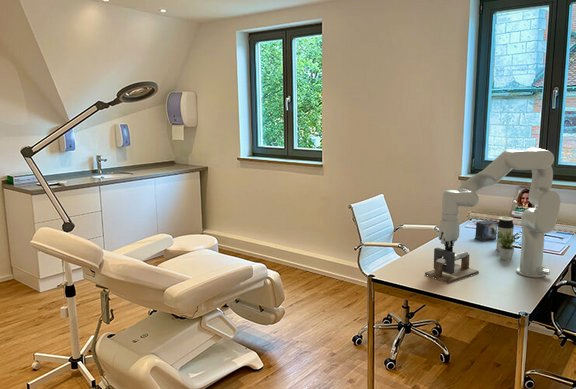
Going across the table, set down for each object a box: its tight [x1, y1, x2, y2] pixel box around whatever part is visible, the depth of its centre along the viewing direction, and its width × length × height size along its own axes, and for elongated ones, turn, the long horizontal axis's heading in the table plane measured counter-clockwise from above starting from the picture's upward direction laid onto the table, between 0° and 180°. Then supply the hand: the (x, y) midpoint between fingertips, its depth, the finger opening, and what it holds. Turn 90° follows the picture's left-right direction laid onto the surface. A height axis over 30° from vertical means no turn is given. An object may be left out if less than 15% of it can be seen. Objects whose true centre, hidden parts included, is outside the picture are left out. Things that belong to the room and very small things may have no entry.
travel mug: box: [496, 216, 515, 252], centre depth 268 cm, size 8×8×18 cm
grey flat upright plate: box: [433, 247, 456, 274], centre depth 230 cm, size 10×2×10 cm, turn 34°
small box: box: [474, 219, 498, 242], centre depth 291 cm, size 11×6×10 cm, turn 105°
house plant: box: [495, 229, 522, 261], centre depth 252 cm, size 14×14×16 cm
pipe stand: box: [424, 250, 480, 284], centre depth 234 cm, size 14×22×10 cm, turn 124°
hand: (448, 254), depth 231 cm, fingers closed
